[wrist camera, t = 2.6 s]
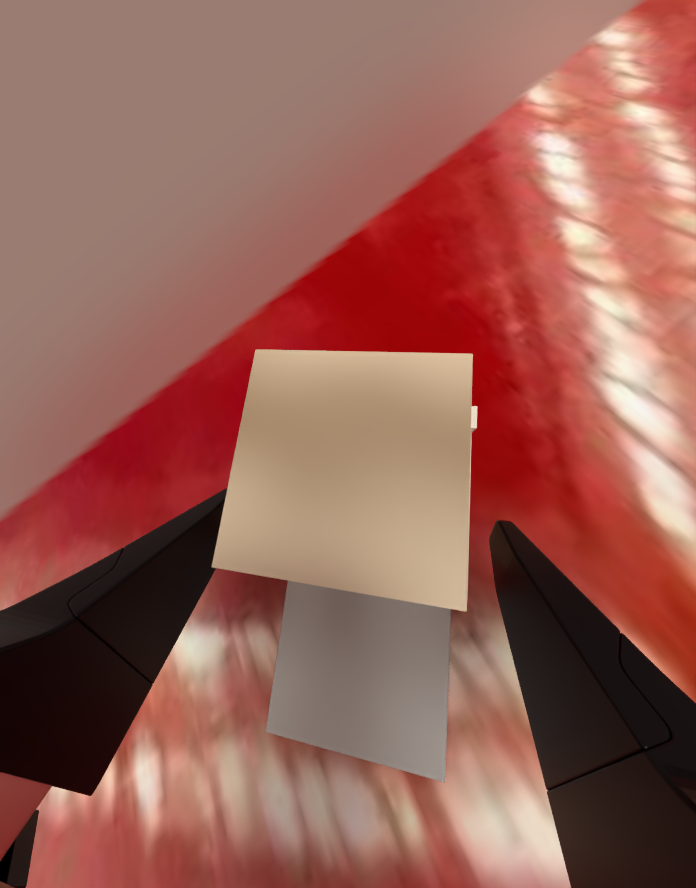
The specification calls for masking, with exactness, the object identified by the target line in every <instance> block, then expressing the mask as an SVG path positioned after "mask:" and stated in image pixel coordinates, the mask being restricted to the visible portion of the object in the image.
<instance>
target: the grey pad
mask: <svg viewBox="0 0 696 888" xmlns="http://www.w3.org/2000/svg"><path fill="white" fill-rule="evenodd" d="M450 623H451V609H448V608H442V607H436V606H431V605H425V604H419V603H413V602H408V601H402V600H396V599H391V598H385V597H379V596H373V595H368V594H362V593H356V592H351V591H345V590H339V589H333V588H328V587H322V586H316V585H310V584H305V583H299V582H293V581H288V584H287V590H286V597H285V604H284V611H283V617H282V624H281V631H280V638H279V645H278V651H277V658H276V665H275V672H274V678H273V685H272V692H271V699H270V705H269V712H268V719H267V726H266V732H267V733H271V734H274V735H278V736H281V737H285V738H288V739H292V740H296V741H299V742H303V743H306V744H310V745H313V746H317V747H320V748H324V749H328V750H331V751H335V752H338V753H342V754H345V755H349V756H352V757H356V758H360V759H363V760H367V761H370V762H374V763H377V764H381V765H385V766H388V767H392V768H395V769H399V770H402V771H406V772H409V773H413V774H417V775H420V776H424V777H427V778H431V779H434V780H438V781H441V782H445V772H446V742H447V712H448V683H449V653H450Z"/></svg>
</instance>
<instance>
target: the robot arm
mask: <svg viewBox="0 0 696 888" xmlns="http://www.w3.org/2000/svg"><path fill="white" fill-rule="evenodd" d="M226 493H227V489H224V490H222V491H221V492H219V493H217V494H215V495H214V496H212V497H210V498H208V499H207V500H205V501H203V502H202V503H200V504H198V505H196V506H195V507H193V508H191V509H189V510H188V511H186V512H184V513H182V514H181V515H179V516H177V517H175V518H174V519H172V520H170V521H168V522H167V523H165V524H163V525H161V526H160V527H158V528H156V529H154V530H153V531H151V532H149V533H148V534H146V535H144V536H142V537H141V538H139V539H137V540H135V541H134V542H132V543H130V544H128V545H127V546H125V548H121V549H120V550H118V551H116V552H114V553H113V554H111V555H109V556H107V557H105V558H104V559H102V560H100V561H98V562H96V563H95V564H93V565H91V566H89V567H87V568H85V569H83V570H82V571H80V572H78V573H76V574H74V575H72V576H70V577H68V578H66V579H64V580H62V581H60V582H58V583H56V584H54V585H52V586H50V587H48V588H46V589H45V590H43V591H41V592H39V593H37V594H35V595H33V596H31V597H29V598H27V599H25V600H23V601H21V602H19V603H17V604H15V605H13V606H11V607H9V608H6V609H4V610H1V611H0V888H25V887H26V885H27V879H28V873H29V867H30V861H31V855H32V849H33V843H34V837H35V831H36V826H37V820H38V814H39V810H36V809H37V807H38V806H39V804H40V803H41V801H42V800H43V798H44V797H45V796H46V794H47V793H48V791H49V790H50V788H51V787H52V786H54V787H58V788H62V789H66V790H70V791H73V792H77V793H81V794H85V795H88V796H91V795H92V794H93V793H94V791H95V789H96V788H97V786H98V784H99V783H100V781H101V779H102V777H103V775H104V773H105V772H106V770H107V768H108V766H109V764H110V762H111V761H112V759H113V757H114V755H115V753H116V751H117V750H118V748H119V746H120V744H121V742H122V740H123V739H124V737H125V735H126V733H127V731H128V729H129V728H130V726H131V724H132V722H133V720H134V718H135V717H136V715H137V713H138V711H139V709H140V707H141V706H142V704H143V702H144V700H145V698H146V696H147V695H148V693H149V691H150V689H151V687H152V684H153V683H154V681H155V679H156V678H157V676H158V674H159V672H160V670H161V668H162V667H163V665H164V663H165V661H166V659H167V657H168V656H169V654H170V652H171V650H172V648H173V646H174V645H175V643H176V641H177V639H178V637H179V635H180V633H181V632H182V630H183V628H184V626H185V624H186V622H187V621H188V619H189V617H190V615H191V613H192V611H193V610H194V608H195V606H196V604H197V602H198V600H199V599H200V597H201V595H202V593H203V591H204V589H205V588H206V586H207V584H208V582H209V580H210V578H211V577H212V575H213V573H214V571H215V569H216V568H213V567H212V562H213V558H214V553H215V548H216V543H217V538H218V533H219V528H220V523H221V518H222V513H223V508H224V503H225V498H226ZM489 542H490V551H491V558H492V565H493V573H494V580H495V587H496V592H497V597H498V601H499V605H500V609H501V613H502V617H503V621H504V625H505V629H506V632H507V636H508V640H509V644H510V648H511V652H512V656H513V660H514V664H515V668H516V672H517V676H518V680H519V684H520V687H521V691H522V695H523V699H524V703H525V707H526V711H527V715H528V719H529V723H530V727H531V731H532V735H533V738H534V742H535V746H536V750H537V754H538V758H539V762H540V766H541V770H542V774H543V778H544V782H545V786H546V789H547V790H548V791H547V794H548V798H549V802H550V806H551V810H552V814H553V818H554V822H555V826H556V830H557V833H558V837H559V841H560V845H561V849H562V853H563V857H564V861H565V865H566V869H567V873H568V877H569V881H570V885H571V888H696V703H695V702H694V701H693V700H691V699H690V698H689V697H688V696H687V695H686V694H685V693H684V692H683V691H682V690H681V689H680V688H679V687H677V686H676V685H675V684H674V683H673V682H672V681H671V680H670V679H669V678H668V677H667V676H666V675H664V674H663V673H662V672H661V671H660V670H659V669H658V668H657V667H656V666H655V665H654V664H653V663H652V662H651V661H650V660H649V659H648V658H647V657H646V656H645V655H644V654H643V653H642V652H641V651H640V650H639V649H638V648H637V647H636V646H635V645H634V644H633V643H632V642H631V641H630V640H629V639H628V638H627V637H626V636H625V635H624V634H622V633H620V630H619V629H618V628H617V627H616V626H615V625H614V624H613V623H612V622H611V621H610V620H609V619H608V618H607V617H606V616H605V615H604V614H603V613H602V612H601V611H600V610H599V609H598V608H597V607H596V606H595V605H594V604H593V603H592V602H591V601H590V600H589V599H588V598H587V597H586V596H585V595H584V594H583V593H582V592H581V591H580V590H579V589H578V588H577V587H576V586H575V585H574V584H573V583H572V582H571V581H570V580H569V579H568V578H567V577H566V576H565V575H564V574H563V573H562V572H561V571H560V570H559V569H558V568H557V567H556V566H555V565H554V564H553V563H552V562H551V561H550V560H549V559H548V558H547V557H546V556H545V555H544V554H543V553H542V552H541V551H540V550H539V549H538V548H537V547H536V546H535V545H534V544H533V543H532V542H531V541H530V540H529V539H528V538H527V537H526V536H525V535H524V534H523V533H522V532H521V531H520V530H519V529H518V528H517V527H516V526H515V525H514V524H513V523H512V522H510V521H503V520H497V521H496V523H495V525H494V527H493V530H492V533H491V535H490V541H489Z"/></svg>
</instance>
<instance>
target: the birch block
mask: <svg viewBox="0 0 696 888" xmlns="http://www.w3.org/2000/svg"><path fill="white" fill-rule="evenodd" d="M472 361H473V354H457V353H406V352H356V351H305V350H255V355H254V360H253V365H252V370H251V375H250V380H249V385H248V390H247V395H246V400H245V405H244V409H243V414H242V419H241V424H240V429H239V434H238V439H237V444H236V449H235V454H234V459H233V464H232V469H231V474H230V479H229V484H228V488H227V493H226V498H225V503H224V508H223V513H222V518H221V523H220V528H219V533H218V538H217V543H216V548H215V553H214V558H213V562H212V567H213V568H219V569H225V570H230V571H236V572H242V573H248V574H253V575H259V576H265V577H270V578H276V579H282V580H288V581H293V582H299V583H305V584H310V585H316V586H322V587H328V588H333V589H339V590H345V591H351V592H356V593H362V594H368V595H373V596H379V597H385V598H391V599H396V600H402V601H408V602H413V603H419V604H425V605H431V606H436V607H442V608H448V609H454V610H459V611H465V612H467V577H468V534H469V491H470V447H471V404H472Z"/></svg>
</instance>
